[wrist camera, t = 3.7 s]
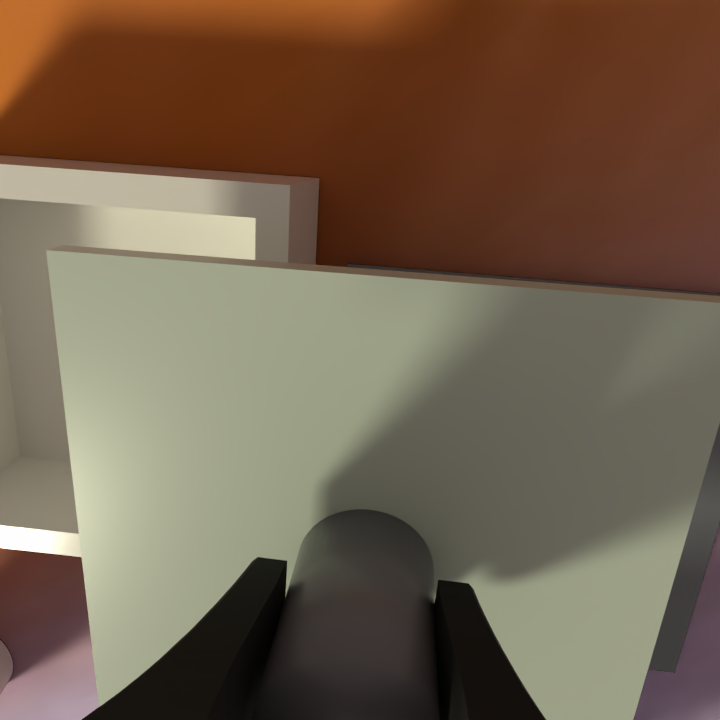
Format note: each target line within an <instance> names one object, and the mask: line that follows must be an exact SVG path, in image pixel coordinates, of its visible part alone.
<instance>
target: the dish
mask: <svg viewBox="0 0 720 720" xmlns="http://www.w3.org/2000/svg"><path fill="white" fill-rule="evenodd" d="M318 199H319V178H311V177H297V176H284V175H270V174H256V173H242V172H229V171H215V170H201V169H187V168H173V167H160V166H146V165H132V164H118V163H105V162H91V161H77V160H63V159H49V158H36V157H22V156H8V155H0V548H6V549H15V550H23V551H32V552H41V553H50V554H59V555H67V556H76V557H82V556H81V547H80V539H79V530H78V521H77V513H76V504H75V496H74V487H73V478H72V470H71V461H70V452H69V444H68V435H67V427H66V418H65V409H64V401H63V392H62V383H61V375H60V366H59V358H58V349H57V340H56V332H55V323H54V314H53V306H52V297H51V289H50V280H49V271H48V263H47V254H46V250H48V249H51V248H55V247H58V246H62V245H69V246H82V247H95V248H107V249H120V250H133V251H146V252H159V253H172V254H185V255H198V256H210V257H223V258H236V259H249V260H262V261H275V262H288V263H300V264H313V265H316V247H317V223H318Z"/></svg>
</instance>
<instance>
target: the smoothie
mask: <svg viewBox="0 0 720 720" xmlns="http://www.w3.org/2000/svg"><path fill="white" fill-rule="evenodd" d="M12 672H13V661H12V658H11V655H10V653H9V651H8V649H7V648H6V646H5V645H4V644H3V642H2V641H1V640H0V694H1V693H2V691H3V689H4V688H5V686H6V684H7V683H8V681H9V679H10V678H11V675H12Z"/></svg>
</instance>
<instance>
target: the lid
mask: <svg viewBox="0 0 720 720" xmlns="http://www.w3.org/2000/svg"><path fill="white" fill-rule="evenodd" d="M46 254H47V263H48V271H49V280H50V289H51V297H52V306H53V314H54V323H55V332H56V340H57V349H58V358H59V366H60V375H61V383H62V392H63V401H64V409H65V418H66V427H67V435H68V444H69V452H70V461H71V470H72V478H73V487H74V496H75V504H76V513H77V521H78V530H79V539H80V547H81V556H82V565H83V573H84V582H85V590H86V599H87V608H88V616H89V625H90V634H91V642H92V651H93V659H94V668H95V677H96V685H97V694H98V703H99V707H100V706H101V705H103V704H104V703H105V702H107V701H108V700H109V699H111V698H112V697H114V696H115V695H116V694H118V693H119V692H120V691H121V690H123V689H124V688H125V687H126V686H128V685H129V684H130V683H131V682H133V681H134V680H135V679H137V678H138V677H139V676H140V675H141V674H143V673H144V672H145V671H146V670H147V669H148V668H150V667H151V666H152V665H153V664H154V663H155V662H157V661H158V660H159V659H160V658H161V657H162V656H163V655H164V654H165V653H167V652H168V651H169V650H170V649H171V648H172V647H173V646H174V645H175V644H176V643H177V642H178V641H179V640H180V639H181V638H182V637H184V636H185V635H186V634H187V633H188V632H189V631H190V630H191V629H192V628H193V627H194V626H195V625H196V624H197V623H198V622H199V621H200V620H201V619H202V618H203V617H204V616H205V614H206V613H207V612H208V611H209V610H210V609H211V608H212V607H213V606H214V605H215V604H216V603H217V602H218V601H219V600H220V599H221V597H222V596H223V595H224V594H225V593H226V592H227V591H228V590H229V588H230V587H231V586H232V585H233V584H234V583H235V582H236V580H237V579H238V578H239V577H240V576H241V574H242V573H243V572H244V571H245V570H246V568H247V567H248V566H249V564H250V563H251V562H252V561H253V560H254V559H256V558H257V557H262V558H270V559H278V560H286V561H287V576H286V596H285V601H284V604H283V608H282V611H281V615H280V618H279V622H278V625H277V629H276V632H275V636H274V639H273V643H272V646H271V649H270V653H269V656H268V660H267V663H266V667H265V670H264V674H263V677H262V681H261V684H260V688H259V691H258V695H257V698H256V702H255V705H254V709H253V712H252V720H440V719H439V694H438V669H437V651H436V630H435V598H436V591H437V584H438V580H446V581H454V582H461V583H469V584H470V585H471V587H472V588H473V589H474V592H475V594H476V596H477V599H478V601H479V603H480V605H481V608H482V610H483V612H484V614H485V616H486V618H487V620H488V622H489V624H490V626H491V628H492V630H493V632H494V634H495V636H496V638H497V640H498V642H499V643H500V645H501V647H502V649H503V651H504V653H505V654H506V656H507V658H508V659H509V661H510V663H511V665H512V666H513V668H514V670H515V672H516V673H517V675H518V677H519V678H520V680H521V682H522V683H523V685H524V687H525V688H526V690H527V691H528V693H529V694H530V696H531V698H532V699H533V701H534V702H535V704H536V705H537V707H538V708H539V710H540V711H541V713H542V714H543V716H544V717H545V719H546V720H633V719H634V716H635V712H636V709H637V705H638V702H639V699H640V695H641V692H642V688H643V685H644V681H645V678H646V674H647V671H648V668H649V664H650V661H651V657H652V654H653V650H654V647H655V644H656V640H657V637H658V633H659V630H660V626H661V623H662V619H663V616H664V613H665V609H666V606H667V602H668V599H669V595H670V592H671V589H672V585H673V582H674V578H675V575H676V571H677V568H678V564H679V561H680V558H681V554H682V551H683V547H684V544H685V540H686V537H687V534H688V530H689V527H690V523H691V520H692V516H693V513H694V509H695V506H696V503H697V499H698V496H699V492H700V489H701V485H702V482H703V479H704V475H705V472H706V468H707V465H708V461H709V458H710V454H711V451H712V448H713V444H714V441H715V437H716V434H717V430H718V427H719V424H720V296H712V295H699V294H686V293H674V292H661V291H648V290H635V289H622V288H609V287H596V286H584V285H571V284H558V283H545V282H532V281H519V280H506V279H493V278H481V277H468V276H455V275H442V274H429V273H416V272H403V271H391V270H378V269H365V268H352V267H339V266H326V265H313V264H300V263H288V262H275V261H262V260H249V259H236V258H223V257H210V256H198V255H185V254H172V253H159V252H146V251H133V250H120V249H107V248H95V247H82V246H69V245H62V246H58V247H55V248H51V249H48V250H46Z"/></svg>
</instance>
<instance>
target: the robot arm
mask: <svg viewBox="0 0 720 720" xmlns="http://www.w3.org/2000/svg"><path fill="white" fill-rule="evenodd" d="M286 576H287V561H286V560H278V559H270V558H262V557H257V558H256V559H254V560H253V561H252V562H251V563H250V564H249V566H248V567H247V568H246V570H245V571H244V572H243V573H242V574H241V576H240V577H239V578H238V579H237V580H236V582H235V583H234V584H233V585H232V586H231V587H230V588H229V590H228V591H227V592H226V593H225V594H224V595H223V596H222V597H221V599H220V600H219V601H218V602H217V603H216V604H215V605H214V606H213V607H212V608H211V609H210V610H209V611H208V612H207V613H206V614H205V616H204V617H203V618H202V619H201V620H200V621H199V622H198V623H197V624H196V625H195V626H194V627H193V628H192V629H191V630H190V631H189V632H188V633H187V634H186V635H185V636H184V637H182V638H181V639H180V640H179V641H178V642H177V643H176V644H175V645H174V646H173V647H172V648H171V649H170V650H169V651H168V652H167V653H165V654H164V655H163V656H162V657H161V658H160V659H159V660H158V661H157V662H155V663H154V664H153V665H152V666H151V667H150V668H148V669H147V670H146V671H145V672H144V673H143V674H141V675H140V676H139V677H138V678H137V679H135V680H134V681H133V682H131V683H130V684H129V685H128V686H126V687H125V688H124V689H123V690H121V691H120V692H119V693H118V694H116V695H115V696H114V697H112V698H111V699H109V700H108V701H107V702H105V703H104V704H103V705H101V706H100V707H98V708H97V709H96V710H94V711H93V712H92V713H90V714H89V715H87V716H86V717H85V718H83V719H82V720H252V712H253V709H254V705H255V702H256V698H257V695H258V691H259V688H260V684H261V681H262V677H263V674H264V670H265V667H266V663H267V660H268V656H269V653H270V649H271V646H272V643H273V639H274V636H275V632H276V629H277V625H278V622H279V618H280V615H281V611H282V608H283V604H284V601H285V596H286ZM435 630H436V651H437V669H438V694H439V719H440V720H546V719H545V717H544V716H543V714H542V713H541V711H540V710H539V708H538V707H537V705H536V704H535V702H534V701H533V699H532V698H531V696H530V694H529V693H528V691H527V690H526V688H525V687H524V685H523V683H522V682H521V680H520V678H519V677H518V675H517V673H516V672H515V670H514V668H513V666H512V665H511V663H510V661H509V659H508V658H507V656H506V654H505V653H504V651H503V649H502V647H501V645H500V643H499V642H498V640H497V638H496V636H495V634H494V632H493V630H492V628H491V626H490V624H489V622H488V620H487V618H486V616H485V614H484V612H483V610H482V608H481V605H480V603H479V601H478V599H477V596H476V594H475V592H474V589H473V588H472V587H471V585H470V584H469V583H461V582H454V581H446V580H438V584H437V591H436V598H435Z"/></svg>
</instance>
